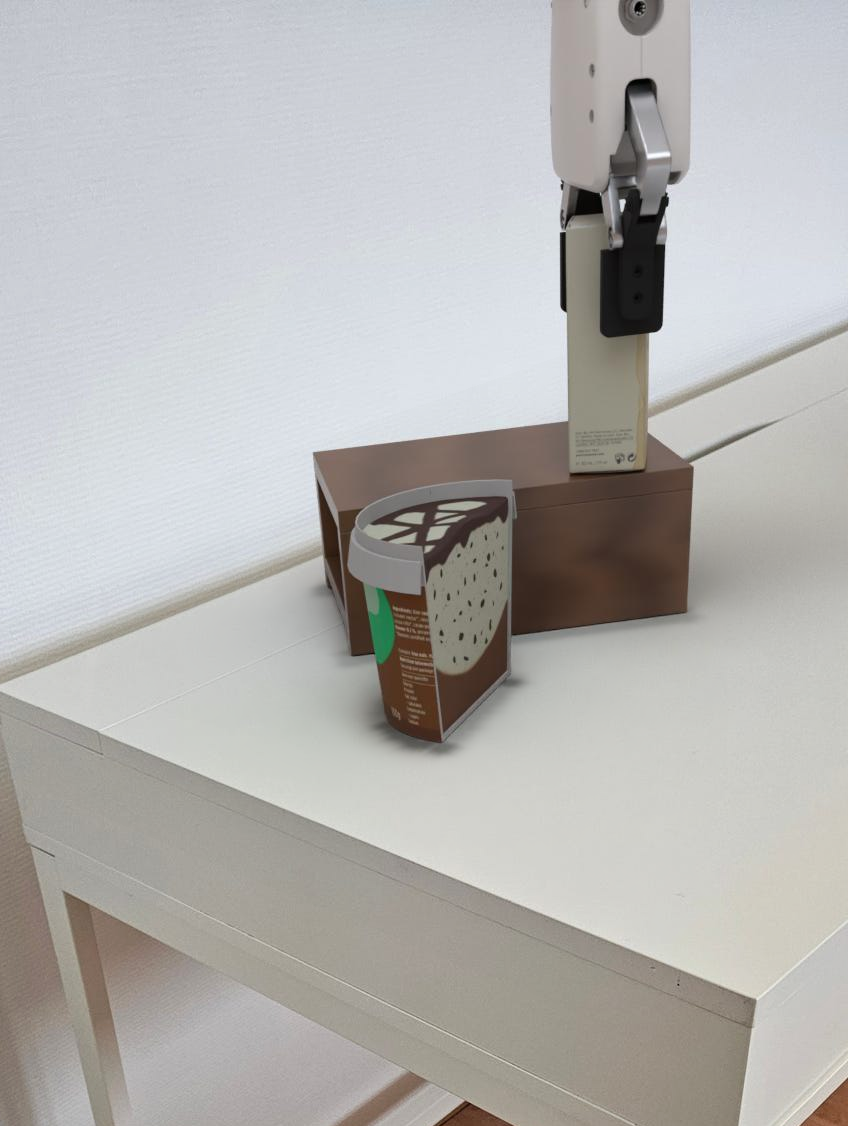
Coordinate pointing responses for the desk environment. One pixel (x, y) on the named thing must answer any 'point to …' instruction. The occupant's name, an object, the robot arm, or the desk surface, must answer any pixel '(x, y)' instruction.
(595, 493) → the shelf
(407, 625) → the food container
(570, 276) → the cosmetic box
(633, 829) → the desk surface
